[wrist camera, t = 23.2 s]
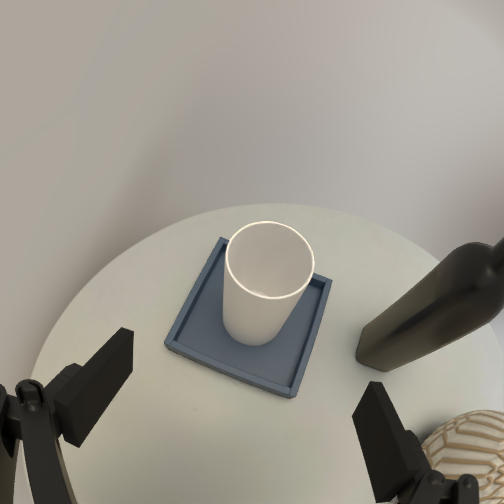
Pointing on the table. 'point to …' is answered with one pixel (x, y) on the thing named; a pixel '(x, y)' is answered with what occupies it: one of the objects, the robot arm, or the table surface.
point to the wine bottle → (438, 308)
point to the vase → (471, 451)
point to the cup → (263, 280)
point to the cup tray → (237, 354)
